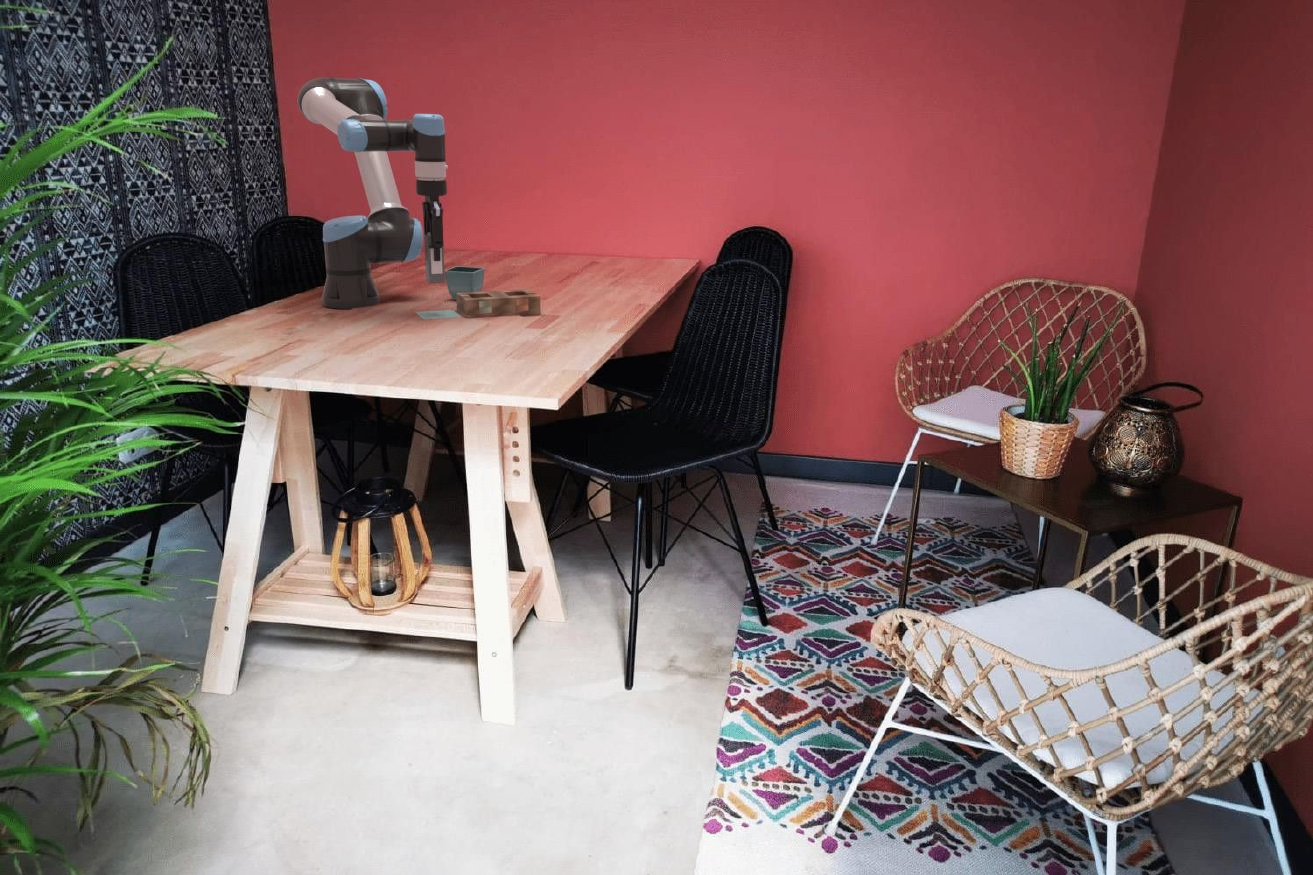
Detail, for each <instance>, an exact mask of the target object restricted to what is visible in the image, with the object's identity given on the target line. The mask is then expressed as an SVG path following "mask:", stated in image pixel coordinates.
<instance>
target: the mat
mask: <svg viewBox="0 0 1313 875" xmlns="http://www.w3.org/2000/svg"><path fill="white" fill-rule="evenodd" d="M415 313H416V315H417V316H418V317H420V319H422V320H425V321H426V320H439V319H454V318H455V319H456V318H462V315H460V314H458V313H457V312H456V311H455V310H454V309H444V310H442V309H441V310H429V311H428V310H426V311H425V310H424V311H415Z"/></svg>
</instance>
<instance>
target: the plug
mask: <svg viewBox="0 0 1313 875" xmlns="http://www.w3.org/2000/svg"><path fill="white" fill-rule="evenodd" d="M423 244H424V261H425V262H424V263H425V281H426V282H427V283H428V284H429V285H430V284H445V283H446V277H445V252H444V250H445V249H444V246H443V247H442V272H443V273H442V274H432V273H431V251H430V249H429V246H431V235H430V232H428V234H424V233H423Z"/></svg>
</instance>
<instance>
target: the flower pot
mask: <svg viewBox="0 0 1313 875" xmlns="http://www.w3.org/2000/svg"><path fill="white" fill-rule="evenodd" d="M485 269H486V268H485V267H474V266H461V265H460V266H459V265H458V266H453V267H451V268H449V269H444V274H445V283H446V287H447V290H448V293H449V294H450V297H451V298H452V299H453V300H454V301H456V293H465V292H483V291H482V290H483V287H484V280H485Z"/></svg>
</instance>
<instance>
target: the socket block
mask: <svg viewBox="0 0 1313 875" xmlns="http://www.w3.org/2000/svg"><path fill="white" fill-rule="evenodd" d="M455 301H456V311H457V312H459V313H460V314H461V316H463V317H465V318H466V319H475V318H487V317H488V318H490V317H504V316H505V317H506V316H520V317H523V316H525V317H526V316H540V315H541V313H542V312H541V295H539V294H538V293H535V292H534V291H532V290H530V289H527V288H526V289H524V288H523V289H507V290H506V289H505V290H489V291H488V290H487V291H481V292H465V293H456V300H455Z"/></svg>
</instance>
